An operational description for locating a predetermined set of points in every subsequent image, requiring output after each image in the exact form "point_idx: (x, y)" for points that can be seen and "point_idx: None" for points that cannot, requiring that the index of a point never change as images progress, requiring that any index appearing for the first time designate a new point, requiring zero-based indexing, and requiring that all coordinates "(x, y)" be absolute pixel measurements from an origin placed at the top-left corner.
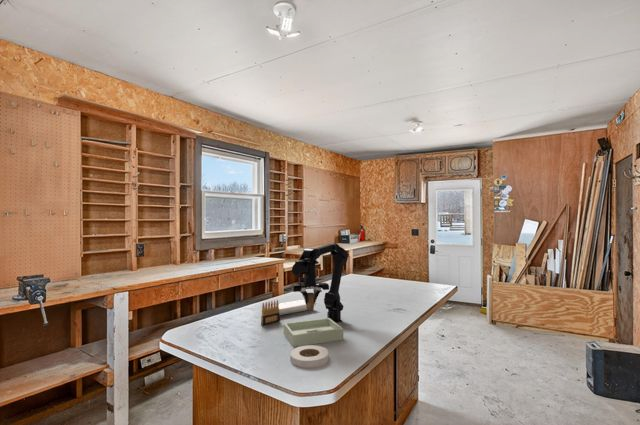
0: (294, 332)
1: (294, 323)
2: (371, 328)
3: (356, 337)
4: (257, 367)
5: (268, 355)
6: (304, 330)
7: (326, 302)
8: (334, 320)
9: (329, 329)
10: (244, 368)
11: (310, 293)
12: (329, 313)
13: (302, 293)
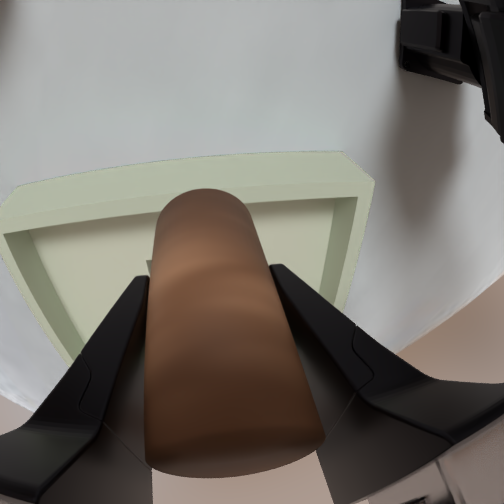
0: (73, 263)
1: (57, 220)
2: (477, 232)
3: (371, 306)
4: (26, 397)
5: (25, 365)
6: (136, 245)
7: (499, 54)
8: (428, 67)
9: (299, 262)
10: (3, 392)
11: (237, 464)
12: (438, 50)
13: (38, 436)
